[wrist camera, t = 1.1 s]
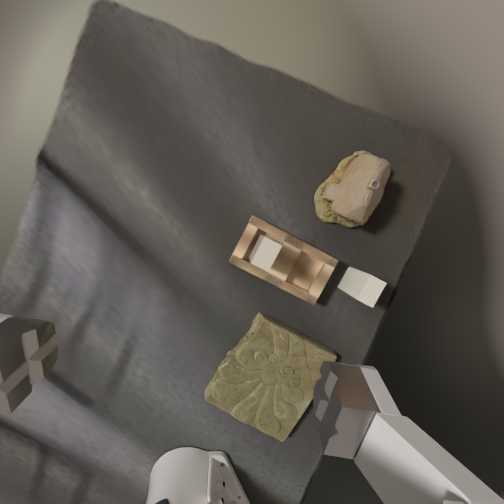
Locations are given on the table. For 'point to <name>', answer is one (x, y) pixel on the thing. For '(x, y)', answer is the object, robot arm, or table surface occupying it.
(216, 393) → the decorative tile
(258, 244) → the white upright prism
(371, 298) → the white rectangular block
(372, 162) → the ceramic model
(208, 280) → the table surface
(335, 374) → the robot arm
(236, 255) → the rack
